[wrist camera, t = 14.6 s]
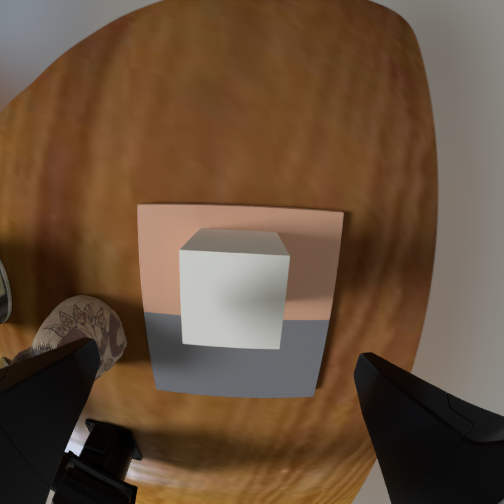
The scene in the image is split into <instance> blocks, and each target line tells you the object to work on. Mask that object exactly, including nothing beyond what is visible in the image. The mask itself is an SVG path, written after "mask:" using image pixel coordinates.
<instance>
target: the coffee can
mask: <svg viewBox="0 0 504 504" xmlns="http://www.w3.org/2000/svg"><path fill="white" fill-rule="evenodd" d="M11 310H12V296H11V289H10V284H9V280H8V277H7V274H6V271H5V268H4V266H3V264H2V261H1V259H0V324H2V323H4V322H6V321H7V320H8V318H9V317H10V314H11Z"/></svg>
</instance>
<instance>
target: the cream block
mask: <svg viewBox="0 0 504 504" xmlns="http://www.w3.org/2000/svg"><path fill="white" fill-rule="evenodd" d="M289 261H290V255H289V253H288V251H287V250H286V248H285V246H284V244H283V242H282V241H281V239H280V237H279V235H278V234H277V232H266V231H248V230H230V229H210V228H200V229H199V230H198V231H197V232H196V233H195V234H194V235H193V236H192V237H191V238H190V239H189V240H188V241H187V242H186V244H185V245H184V246H183V247H182V248H181V249H180V250H179V267H180V303H181V324H182V340H183V344H191V345H202V346H215V347H230V348H249V349H279V348H280V341H281V333H282V324H283V316H284V308H285V299H286V290H287V280H288V271H289Z"/></svg>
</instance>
